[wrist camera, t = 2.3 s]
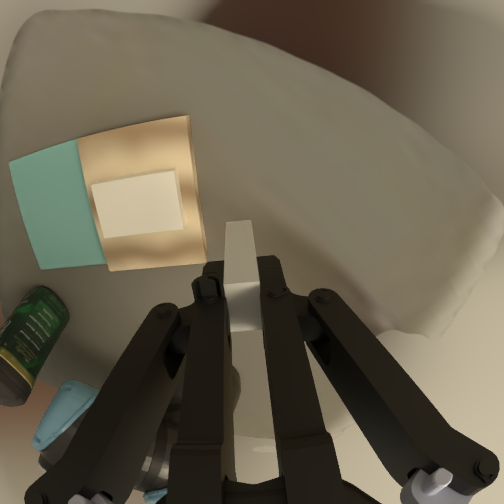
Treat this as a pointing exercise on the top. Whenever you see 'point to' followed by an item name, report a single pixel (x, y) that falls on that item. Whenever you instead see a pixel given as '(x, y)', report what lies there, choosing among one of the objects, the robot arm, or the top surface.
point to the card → (139, 203)
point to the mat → (57, 207)
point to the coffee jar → (28, 343)
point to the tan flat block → (143, 160)
